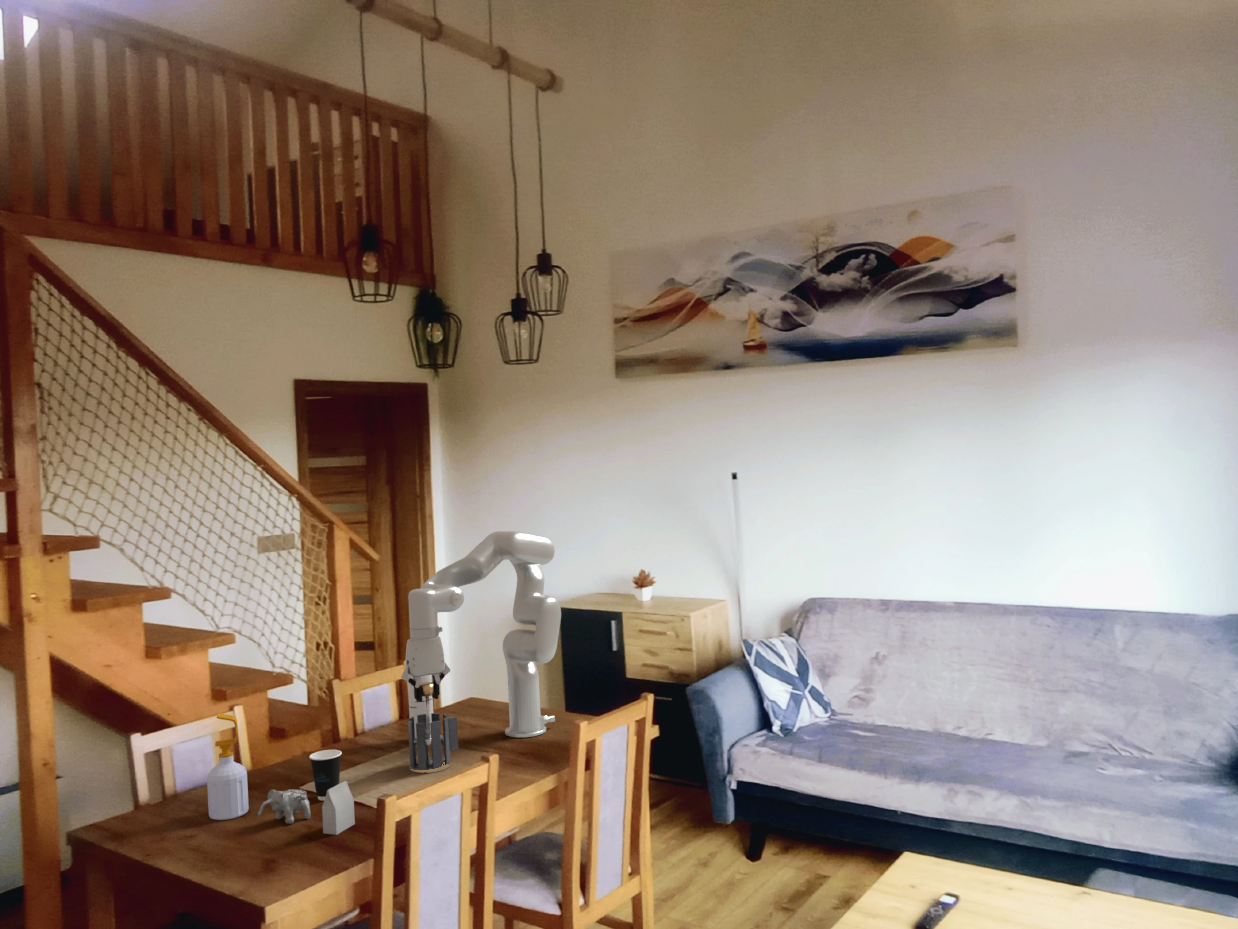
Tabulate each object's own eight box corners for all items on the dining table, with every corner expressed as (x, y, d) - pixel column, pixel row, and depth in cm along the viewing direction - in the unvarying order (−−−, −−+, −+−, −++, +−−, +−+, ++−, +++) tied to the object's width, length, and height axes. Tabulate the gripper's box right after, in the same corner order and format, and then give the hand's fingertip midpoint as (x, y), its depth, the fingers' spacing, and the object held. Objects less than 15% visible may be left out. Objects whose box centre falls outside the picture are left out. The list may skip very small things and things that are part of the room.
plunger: (437, 735, 274) (435, 679, 274) (449, 741, 267) (446, 683, 267) (409, 741, 269) (406, 683, 269) (420, 747, 262) (417, 689, 262)
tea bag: (354, 824, 227) (352, 781, 227) (336, 834, 221) (334, 791, 221) (341, 822, 228) (339, 780, 228) (323, 833, 222) (321, 789, 222)
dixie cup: (339, 789, 252) (337, 747, 252) (347, 798, 245) (345, 754, 245) (308, 796, 248) (306, 753, 248) (315, 805, 241) (312, 760, 241)
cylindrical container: (431, 743, 291) (427, 660, 291) (408, 744, 292) (404, 661, 292) (436, 736, 298) (432, 655, 298) (413, 737, 299) (409, 656, 299)
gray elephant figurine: (318, 816, 234) (317, 784, 234) (281, 832, 223) (281, 798, 223) (288, 813, 238) (288, 781, 238) (251, 828, 227) (251, 795, 227)
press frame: (450, 756, 277) (447, 709, 277) (465, 765, 268) (463, 716, 268) (404, 766, 270) (401, 717, 270) (418, 776, 260) (416, 726, 260)
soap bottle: (209, 811, 240) (204, 712, 240) (248, 805, 244) (244, 707, 244) (208, 823, 232) (202, 720, 232) (248, 816, 235) (243, 715, 235)
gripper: (447, 628, 276) (450, 692, 276) (390, 636, 267) (393, 702, 267) (457, 631, 269) (460, 697, 269) (399, 639, 260) (402, 707, 260)
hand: (427, 699), depth 268 cm, fingers closed on plunger, 4 cm apart
